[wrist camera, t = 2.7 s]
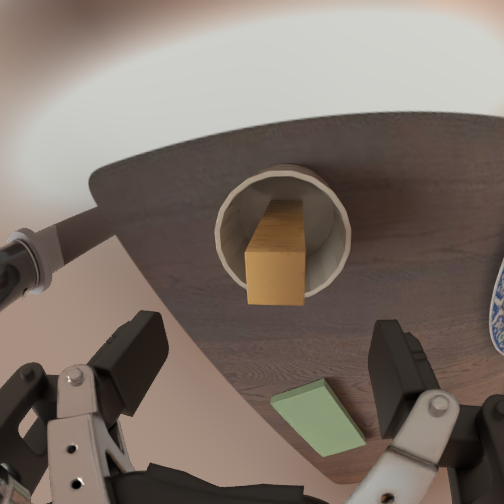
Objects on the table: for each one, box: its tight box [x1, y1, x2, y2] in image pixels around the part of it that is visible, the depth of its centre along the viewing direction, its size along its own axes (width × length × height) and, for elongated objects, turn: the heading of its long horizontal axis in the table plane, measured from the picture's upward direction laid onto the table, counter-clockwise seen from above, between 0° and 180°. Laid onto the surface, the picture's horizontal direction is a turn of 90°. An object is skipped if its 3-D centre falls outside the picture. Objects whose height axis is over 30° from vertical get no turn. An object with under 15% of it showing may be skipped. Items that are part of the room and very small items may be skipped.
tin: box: [215, 164, 351, 297], centre depth 24 cm, size 10×10×8 cm
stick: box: [245, 200, 306, 305], centre depth 21 cm, size 3×3×14 cm
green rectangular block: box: [270, 378, 366, 457], centre depth 37 cm, size 18×8×2 cm, turn 33°
